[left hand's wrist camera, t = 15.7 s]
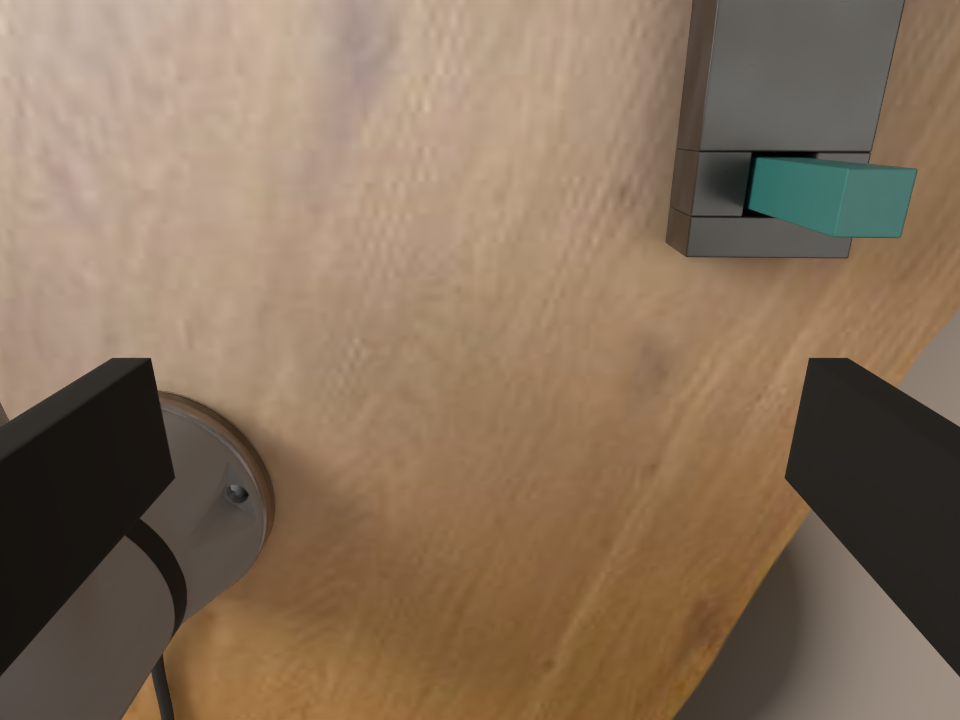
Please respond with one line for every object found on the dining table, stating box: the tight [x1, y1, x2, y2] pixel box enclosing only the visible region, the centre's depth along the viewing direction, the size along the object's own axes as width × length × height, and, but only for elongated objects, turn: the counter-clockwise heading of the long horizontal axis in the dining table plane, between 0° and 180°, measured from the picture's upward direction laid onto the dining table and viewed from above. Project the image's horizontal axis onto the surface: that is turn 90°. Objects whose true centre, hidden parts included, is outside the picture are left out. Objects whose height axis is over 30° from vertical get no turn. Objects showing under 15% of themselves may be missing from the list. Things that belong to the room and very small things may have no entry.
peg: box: [744, 154, 917, 238], centre depth 27 cm, size 2×2×12 cm
